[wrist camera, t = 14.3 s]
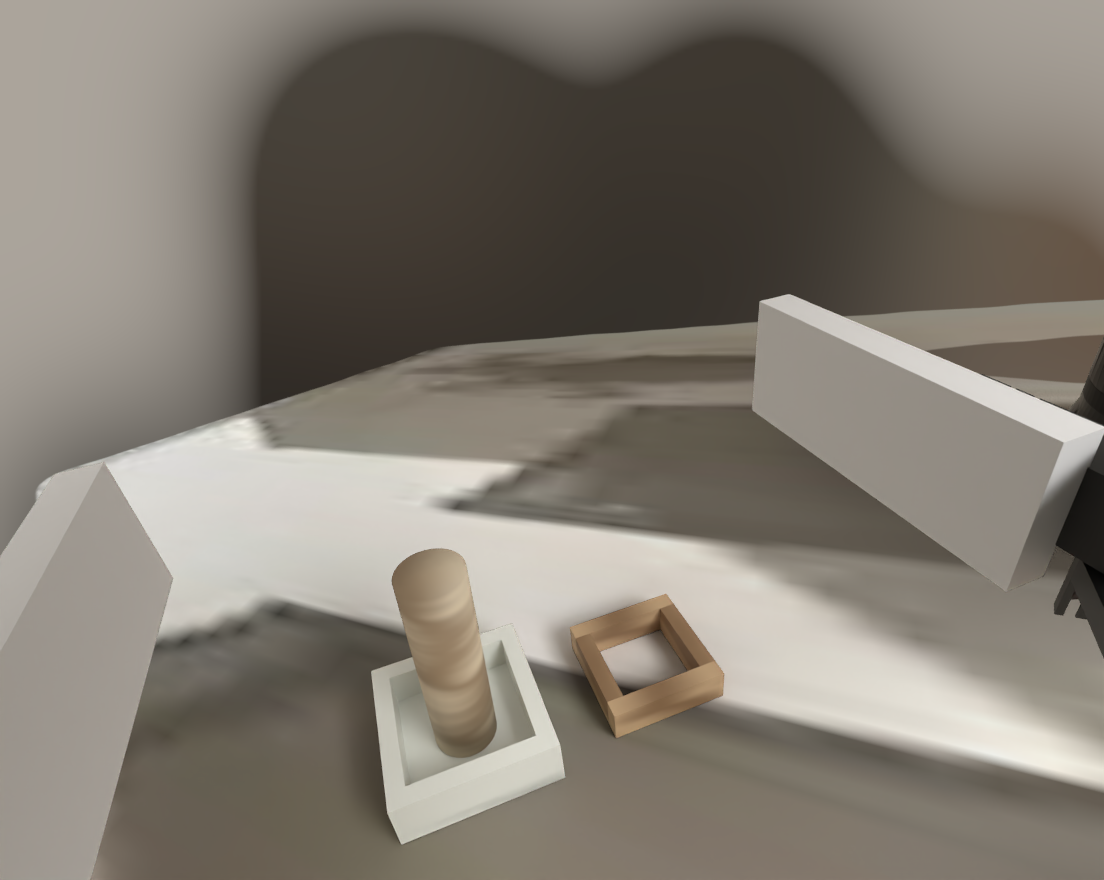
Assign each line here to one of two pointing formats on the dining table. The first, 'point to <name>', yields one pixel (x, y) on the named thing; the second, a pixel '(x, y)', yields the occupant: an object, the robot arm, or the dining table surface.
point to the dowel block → (657, 698)
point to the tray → (472, 782)
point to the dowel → (446, 649)
